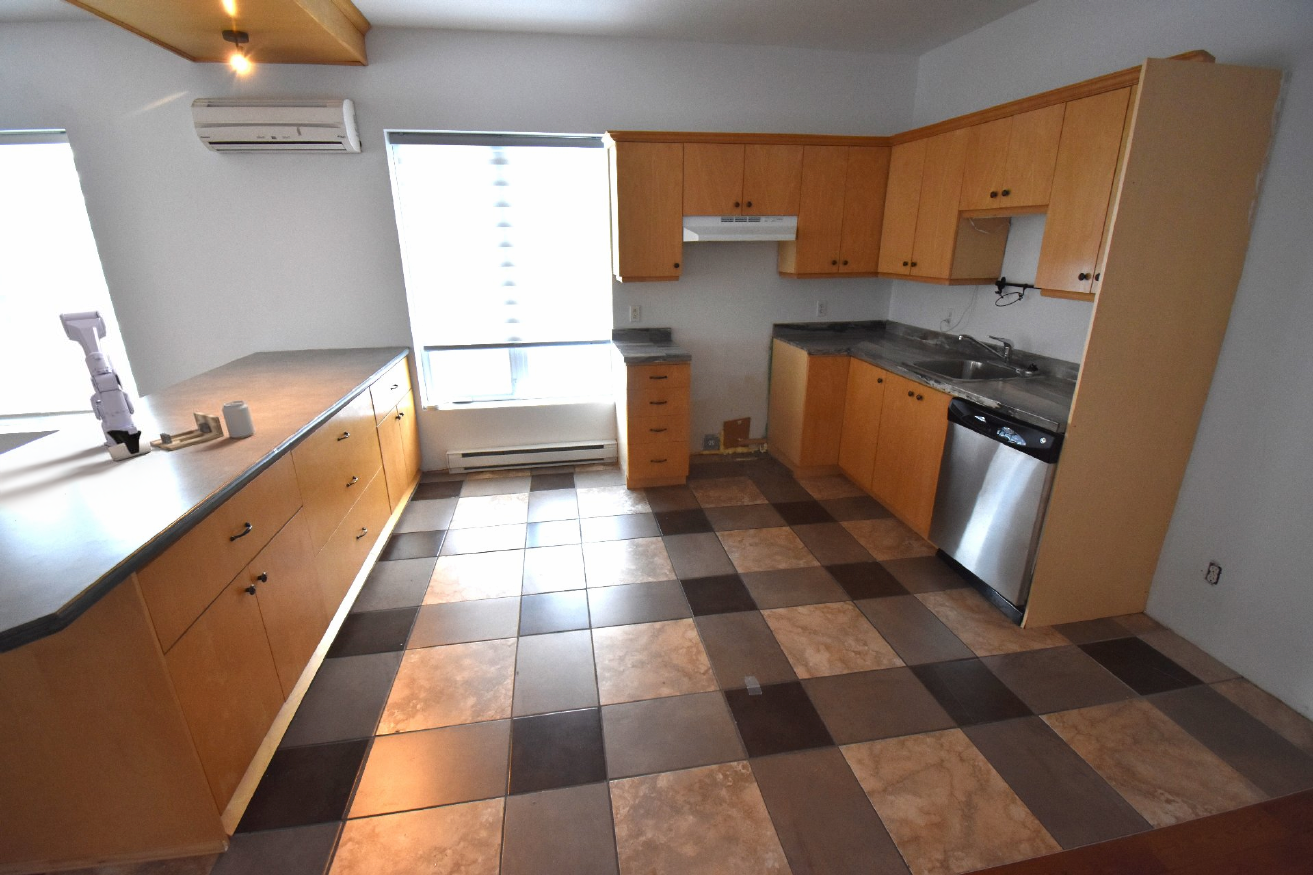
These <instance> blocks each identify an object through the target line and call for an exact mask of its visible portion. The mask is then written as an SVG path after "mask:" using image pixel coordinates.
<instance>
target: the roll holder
mask: <svg viewBox="0 0 1313 875" xmlns="http://www.w3.org/2000/svg"><path fill="white" fill-rule="evenodd" d="M192 414H193V417H194V420H195V423H196V426H197V428H196V429H191V430H187V431H184V432H183V431H182V432H179V433H176V434H172V435H171V434H169V433H165V432H162V433H160V434H159V437H160V438H159V439H155V440H152V441H149V444H150V446H153V447H157V448H161V449H164V450H166V451H167V450H168V451H170V452H173V451H176V450H177V451H178V450H179V449H183V448H187V447H190V446H193V445H197V444H200V443H204V442H207V441H212V440H214V439H215V440H216V439H218V438H221V437H224V436H225V434H224V431H223V427H222V425H221V420H220V418H219V416H217V415H212V414H208V413H203V412H199V411H195V412H193V413H192Z"/></svg>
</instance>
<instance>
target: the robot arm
mask: <svg viewBox="0 0 1313 875" xmlns="http://www.w3.org/2000/svg"><path fill="white" fill-rule="evenodd" d="M59 320H60V322H61V325H62V328H63V331H64V333H65V335H66V337H67V338H68V340H69V341H73V342H77V344H79V345H80V346H81V348H82V349H83V352H84V355H85V359H84V362H85V364H86V366H87V369H88V372H89V375H90V376H91V377H90V382H91V386H92V387H93V390H94V392H95V393H94V394H92V395H91V396H90V399H89V401H90V404H91V407H92V411H93V413H94V415H95V419H96V420H98V421H102V422H100V423H101V425H100V426H101V430H102V433H103V435H104V438H105V440H106V441H105V442H103V444H104V445H106V446H108V447H111V446H115V445H118V444H122V443H124V444H125V445H126V447H127V449H128V451H129V452H130V454H135V453H139V439H141V435H142V431H141V430H138V429H137V426H135V422H134V421H133V419H132V415H134V413H135V409H134V406H133V403H132V400H131V398H130V396H129V393H127V392H126V391H125V390H123V384H122V381H121V380H122V379H121V378H120V375H119V374H118V372H117V371H116V369H115V368H114V366H113V362H112V360H111V358H110V356H109V355H108V354H107V353H105V352H103V351H102V346H101V339H103V338H105V337H107V329H106V328H107V327H106V323H105V320H104V318H103V315H102V313H101V311H99V310H93V311H85V312H84V311H83V312H72V313H60V314H59Z"/></svg>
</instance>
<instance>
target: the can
mask: <svg viewBox="0 0 1313 875" xmlns="http://www.w3.org/2000/svg"><path fill="white" fill-rule="evenodd" d="M222 406H223V407H222V408H221V411H222V415H223V418H224V422H225V425H226V429H227V433H228V435H229V437H231V438H233V439H244V438H248V437H251V436H252V435H253V434H254V433H255V427H254V424H253V419H252V417H251V412H250V409H249V408H250V407H249V405H248V404H247V403H245V401H244V400H235V401H234V400H233V401H229V402H226V403H225V402H224V403H223V404H222Z"/></svg>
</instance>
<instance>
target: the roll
mask: <svg viewBox="0 0 1313 875" xmlns="http://www.w3.org/2000/svg"><path fill="white" fill-rule="evenodd" d="M140 438H141V437H140ZM151 451H152V448H151V445H150V441H149V440H147V438H145V437H143V438H141V439H139V453H135V454H130V452H129V451H128V449H127V447H126V445H125V444H124V443H122V444H118V445H115V446H108V453H109V456H110V457H111V459H113V461H114V462H118V461H121V460H125V459H128V458H133V457H135V456H140V455H143V454H144V455H145V454H147V453H150V452H151Z"/></svg>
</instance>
